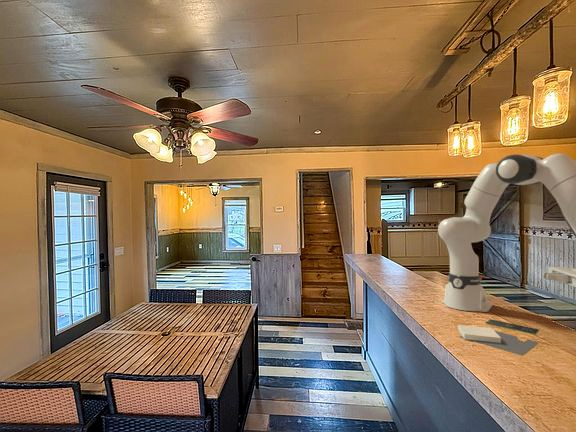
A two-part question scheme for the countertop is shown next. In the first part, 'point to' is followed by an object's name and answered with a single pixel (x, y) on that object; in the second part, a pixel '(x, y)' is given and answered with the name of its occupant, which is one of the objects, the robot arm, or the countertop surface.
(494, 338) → the tile
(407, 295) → the countertop surface
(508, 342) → the mat
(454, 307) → the robot arm
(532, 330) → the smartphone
